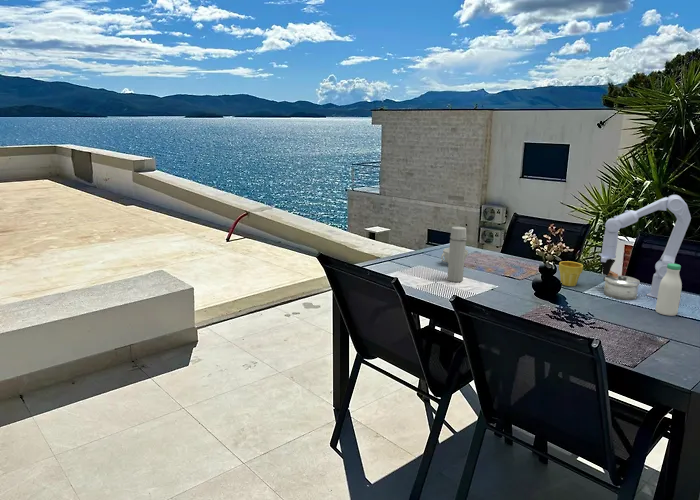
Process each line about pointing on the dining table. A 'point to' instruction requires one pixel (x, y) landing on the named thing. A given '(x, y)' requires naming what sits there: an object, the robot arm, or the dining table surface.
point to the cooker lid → (621, 280)
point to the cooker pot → (620, 291)
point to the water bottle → (456, 254)
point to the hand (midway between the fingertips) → (605, 274)
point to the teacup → (446, 255)
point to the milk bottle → (669, 291)
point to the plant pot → (570, 272)
